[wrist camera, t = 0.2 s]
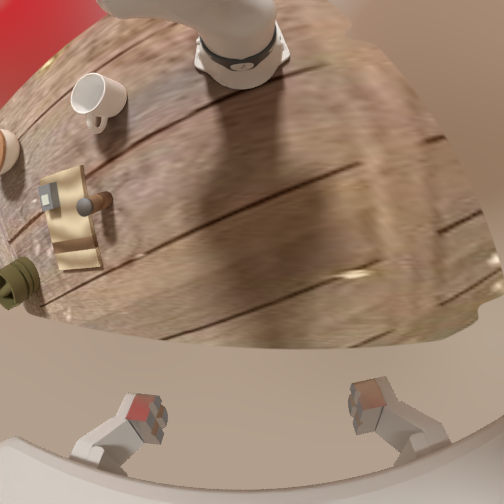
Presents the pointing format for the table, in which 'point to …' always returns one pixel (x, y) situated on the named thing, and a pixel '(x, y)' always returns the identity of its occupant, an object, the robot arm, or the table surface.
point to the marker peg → (94, 203)
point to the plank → (72, 223)
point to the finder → (49, 196)
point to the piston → (18, 282)
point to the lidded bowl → (8, 150)
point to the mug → (98, 99)
